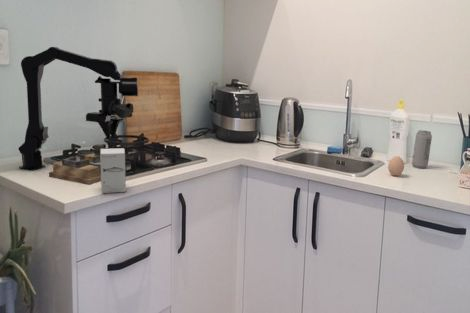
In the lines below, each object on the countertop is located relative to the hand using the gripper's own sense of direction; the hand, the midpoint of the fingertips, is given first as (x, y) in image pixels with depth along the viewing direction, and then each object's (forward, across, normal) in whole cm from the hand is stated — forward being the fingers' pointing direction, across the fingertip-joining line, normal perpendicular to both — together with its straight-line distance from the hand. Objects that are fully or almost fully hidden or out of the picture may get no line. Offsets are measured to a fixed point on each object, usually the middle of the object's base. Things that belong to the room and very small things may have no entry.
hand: (110, 138), depth 156 cm
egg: (+11, +46, -97) cm, 108 cm away
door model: (+11, -13, 0) cm, 17 cm away
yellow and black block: (+6, -8, 0) cm, 11 cm away
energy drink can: (+11, +66, -105) cm, 125 cm away
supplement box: (+11, -21, -19) cm, 30 cm away
